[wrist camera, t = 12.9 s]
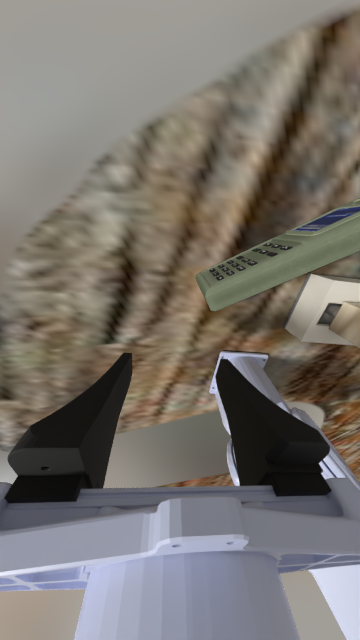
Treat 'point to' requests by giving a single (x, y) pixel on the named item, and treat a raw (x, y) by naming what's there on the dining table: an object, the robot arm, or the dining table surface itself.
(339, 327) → the keyhole peg
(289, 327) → the white hollow rectangular frame
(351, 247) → the handheld radio
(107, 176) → the dining table surface
